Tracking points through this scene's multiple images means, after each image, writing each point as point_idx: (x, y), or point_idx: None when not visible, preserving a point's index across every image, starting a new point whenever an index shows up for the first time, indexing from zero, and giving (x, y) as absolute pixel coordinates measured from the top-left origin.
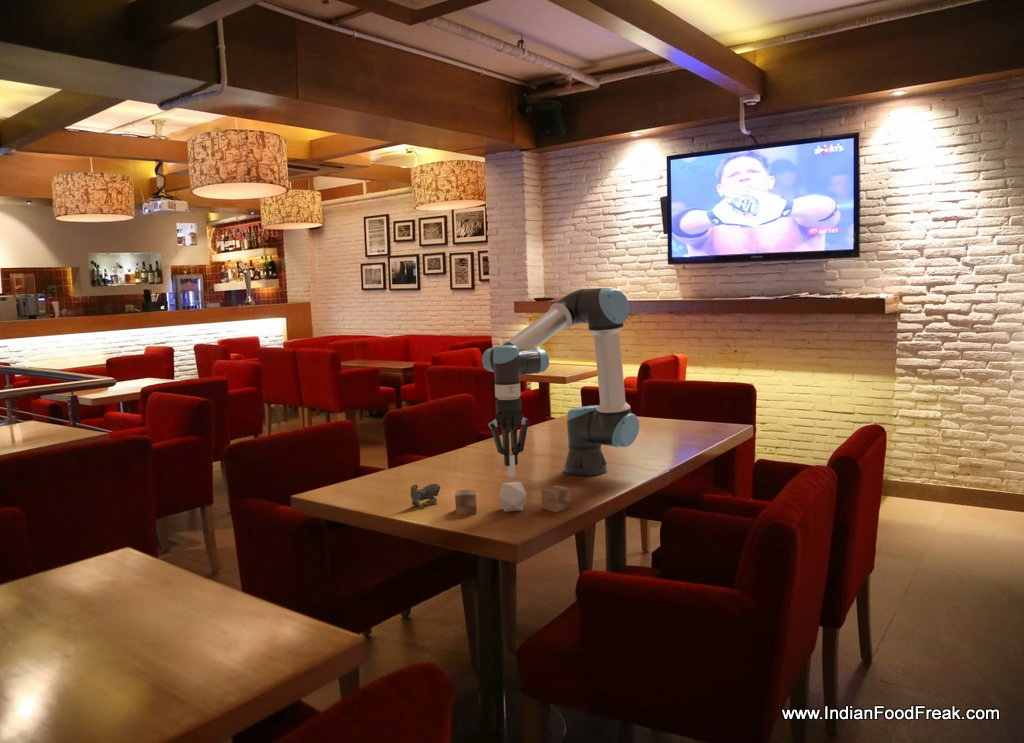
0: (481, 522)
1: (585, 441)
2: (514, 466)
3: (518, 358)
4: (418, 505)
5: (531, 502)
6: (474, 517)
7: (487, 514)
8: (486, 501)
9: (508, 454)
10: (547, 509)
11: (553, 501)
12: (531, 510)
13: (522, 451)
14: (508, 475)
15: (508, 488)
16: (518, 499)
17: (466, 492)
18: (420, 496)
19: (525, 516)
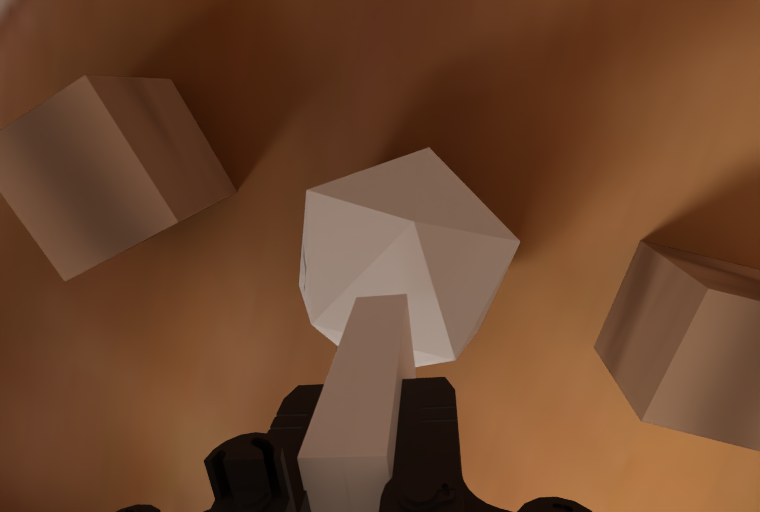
0: (683, 36)
1: None
2: (343, 351)
3: None
4: None
5: (273, 330)
6: (680, 171)
7: (580, 203)
8: (500, 442)
9: (410, 479)
10: (211, 151)
11: (145, 99)
12: (305, 179)
13: (123, 508)
14: (413, 355)
15: (443, 232)
16: (379, 167)
17: (747, 370)
18: None
19: (369, 63)
